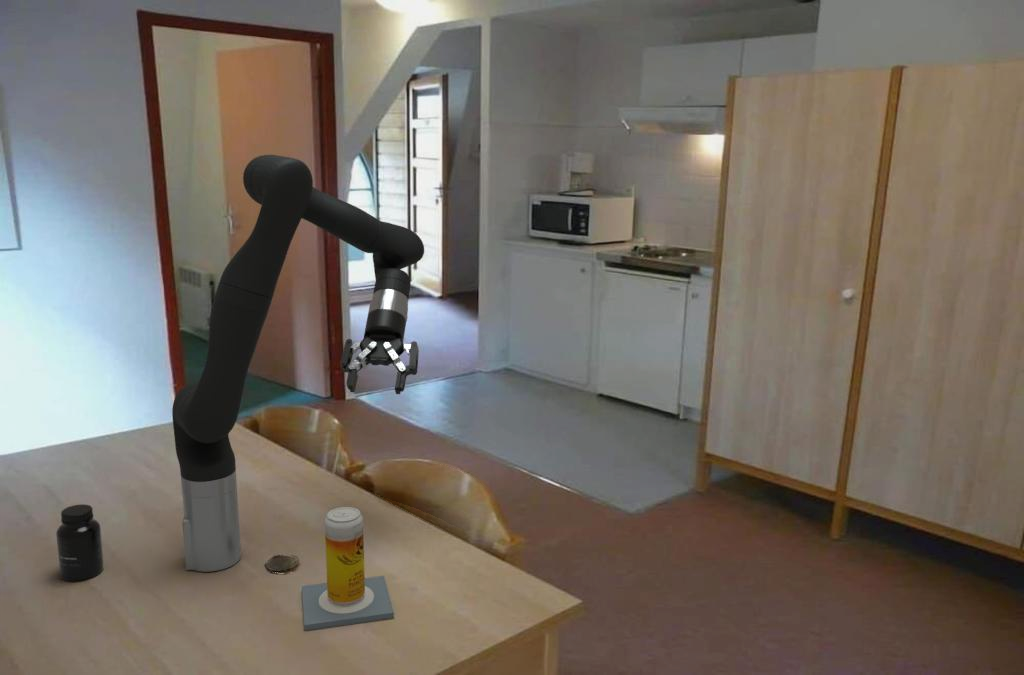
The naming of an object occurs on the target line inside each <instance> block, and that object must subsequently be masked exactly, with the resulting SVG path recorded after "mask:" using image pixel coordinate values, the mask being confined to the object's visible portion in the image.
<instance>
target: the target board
mask: <svg viewBox="0 0 1024 675" xmlns="http://www.w3.org/2000/svg"><path fill="white" fill-rule="evenodd" d="M301 596H302V597H301V598H302V612H303V613H302V614H303V626H304V629H303V630H304V631H305V632H307V631H313V630H318V629H327V628H333V627H341V626H348V625H354V624H364V623H369V622H376V621H384V620H391V619H395V616H394V614H395V612H394V609H393V605H392V604H393V603H392V601H391V597H390V593H389V589H388V586H387V582H386V578H385V575H379V576H370V577H365V593H364V595H363V596H362V597H361V599H360V600H359V601H358V602H356V603H354V604H351V605H337V604H335V603H333V602H332V601H331V600H330V599H329V598H328V594H327V582H321V583H315V584H308V585H302V586H301ZM383 619H384V620H383Z"/></svg>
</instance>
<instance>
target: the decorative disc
mask: <svg viewBox="0 0 1024 675" xmlns="http://www.w3.org/2000/svg"><path fill="white" fill-rule="evenodd" d="M299 559H300V558H299V556H296V555H283V554H276V555H272V557H270V559H268V560H267V561H266V562H265V563H264V567H266V571H268V573H270V572H272V573H275V572H276V573H277V572H278V573H285V574H284V575H288V574H287V573H289V574H291V573H290V572H293V573H295V572H296V570H297V569H298V570H299V569H300V568H301V565H300V564H301V562H300V561H299ZM299 562H300V563H299ZM299 567H300V568H299ZM298 570H297V571H298ZM294 571H295V572H294ZM272 573H271V574H272ZM276 573H275V574H274V575H279V574H278V573H277V574H276Z"/></svg>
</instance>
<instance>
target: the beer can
mask: <svg viewBox="0 0 1024 675" xmlns="http://www.w3.org/2000/svg"><path fill="white" fill-rule="evenodd" d="M326 514H327V515H326V517H325V520H324V531H325V532H324V534H325V535H324V536H325V537H324V538H325V562H326V565H325V566H326V583H327V594H328V598H329V599H330V600H331V601H332V602H333V603H335V604H337V605H351V604H354V603H356V602H358V601H359V600H360V599H361V597H362V596H363V595H364V593H365V578H366V577H365V550H364V548H365V547H364V546H365V545H364V542H365V541H364V540H365V539H364V518H363V516H362V514H361V511H360V509H357V508H356V507H352V506H351V507H350V506H343V507H341V506H340V507H336V508H334V509H331V510H329V511H328V512H327V513H326Z"/></svg>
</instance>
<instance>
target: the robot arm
mask: <svg viewBox="0 0 1024 675" xmlns="http://www.w3.org/2000/svg"><path fill="white" fill-rule="evenodd" d="M244 168H245V169H244V171H243V173H242V174H243V176H242V182H243V186H244V190H245V191H246V193H247V194H248V196H249V198H251V199H252V200H253V201H254V202H256V203H257V204H258V205H260V208H259V209H260V210H259V213H258V216H257V219H256V223H255V225H254V228H253V229H252V231H251V233H250V235H249V236H248V238H247V239H246V240H245V242H244V243H243V245H242V246H241V247H240V249H238V251H237V252H236V253H235V254H234V255H233V257H232V258H231V259H230V261H228V263H227V265H226V266H225V268H224V270H223V271H222V274H221V276H220V279H219V282H218V285H217V287H216V291H215V294H214V297H213V301H212V303H211V304H212V305H211V308H210V316H209V325H208V342H207V343H208V347H207V354H206V360H205V364H204V367H203V370H202V372H201V375H200V378H199V380H198V381H193V382H190V383H188V384H186V385H185V386H183V387H182V388H181V389H180V390H179V391H178V392H177V394H176V395H175V398H174V400H173V403H172V411H171V412H172V413H171V414H172V428H173V436H174V444H175V445H174V446H175V453H176V457H177V460H178V465H179V469H180V481H181V482H180V483H181V493H182V494H181V496H182V504H183V505H182V507H183V508H182V509H183V517H182V518H183V519H182V532H183V533H182V534H183V545H184V546H183V548H184V557H185V558H184V559H185V570H186V571H196V572H202V573H203V572H204V573H206V572H207V573H209V572H216V571H217V572H218V571H222V570H225V569H228V568H230V567H233V566H234V565H235V564H237V563H238V562H240V559H241V557H242V546H241V544H242V543H241V536H240V535H241V534H240V532H241V531H240V518H239V517H240V516H239V513H240V512H239V499H238V496H239V495H238V483H237V469H236V468H237V465H236V455H235V453H234V451H233V447H232V445H231V441H230V438H229V434H230V433H231V431H232V430H233V428H234V427H235V425H236V422H237V420H238V416H239V412H240V407H241V403H242V398H243V393H244V387H245V384H246V380H247V375H248V372H249V367H250V365H251V362H252V359H253V356H254V354H255V350H256V348H257V345H258V342H259V340H260V339H259V338H260V336H261V333H262V329H263V327H264V324H265V321H266V320H267V319H266V318H267V316H268V313H269V310H270V308H271V304H272V301H273V298H274V294H275V290H276V287H277V284H278V281H279V277H280V274H281V273H282V269H283V266H284V263H285V260H286V258H287V255H288V251H289V249H290V246H291V243H292V240H293V238H294V237H295V236H294V235H295V233H296V231H297V228H298V227H299V224H300V223H301V220H302V219H303V220H305V221H306V222H308V223H310V224H313V225H315V226H317V227H319V228H320V229H322V230H323V231H325V232H327V233H329V234H330V235H332V236H334V237H336V238H338V239H340V240H341V241H343V242H344V243H346V244H349V245H350V246H352V247H354V248H356V249H358V250H359V251H361V252H364V253H366V254H372V261H373V270H374V277H375V282H374V286H373V287H374V288H373V292H372V293H373V294H372V296H371V300H370V303H369V307H368V313H367V317H366V323H365V328H364V334H363V338H362V340H361V341H360V342H358V341H357V342H356V341H353V340H352V339H351V338H347V339H346V340H345V344H344V346H343V350H342V354H341V359H340V360H339V365H340V368H341V370H342V372H343V373H347V379H346V383H345V384H346V386H347V389H348V390H349V392H350V393H355V392H356V387H357V382H358V377H359V375H358V374H359V373H360V372H361V371H362V370H365V369H367V368H368V367H369V366H370V365H372V366H379V365H381V366H385V367H389V365H391V364H392V366H393V368H395V370H396V371H397V372H396V378H395V385H394V392H395V394H396V395H401V392H404V390H405V386H406V382H407V377H408V376H411V375H412V376H416V375H417V374H418V366H419V356H420V355H419V354H420V353H419V351H420V350H419V346H418V343H417V341H416V340H413V341H411V343H404V340H405V332H406V326H407V321H408V314H409V313H408V312H409V297H410V293H411V292H410V291H411V281H412V280H411V278H410V276H409V274H408V273H407V272H406V271H404V270H403V269H405V268H407V267H409V266H412V265H414V264H417V263H418V262H420V261H421V260H422V258H423V256H424V254H425V246H424V243H423V240H422V239H421V238H420V236H419V235H418V234H417V233H416V232H414V231H413V230H411V228H408V227H404V226H401V225H398V224H394V223H391V222H388V221H387V222H386V221H382V220H379V219H378V218H377V217H375V216H373V215H372V214H370V213H368V212H367V211H365V210H363V209H361V208H360V207H357V206H356V205H353V204H351V203H349V202H346V201H344V200H342V199H339V198H337V197H335V196H332V195H330V194H328V193H326V192H323V191H322V190H319V189H318V188H316V187H314V184H313V183H314V181H313V176H312V173H311V170H310V168H309V167H308V165H307V164H306V163H305V162H304V161H302V160H300V159H298V158H294V157H289V156H283V155H277V154H263V155H258V156H256V157H254V158H253V159H251V160H250V161H249V162H248V163H247V165H246V167H244ZM359 350H360V353H359V354H358V355H357V356H356V358H355V359H354V360H353V356H354V355H355V354H356V353H357V352H358V351H359ZM404 352H407V353H406V354H407V355H408V356H409V363H408V365H404V363H403V361H402V360H401V358H400V356H401V355H402V354H403V353H404ZM352 360H353V361H352Z"/></svg>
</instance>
